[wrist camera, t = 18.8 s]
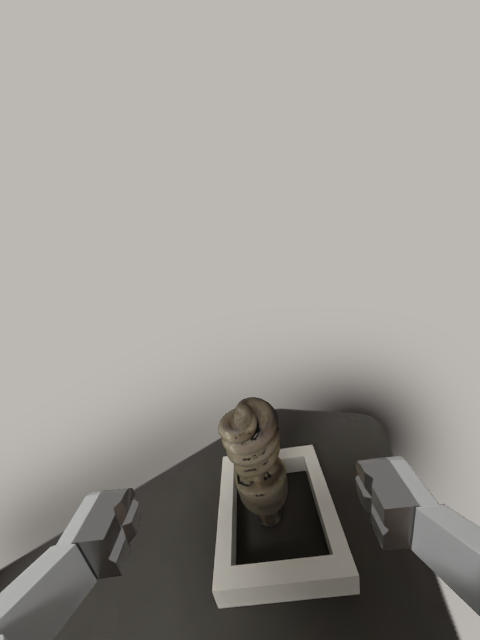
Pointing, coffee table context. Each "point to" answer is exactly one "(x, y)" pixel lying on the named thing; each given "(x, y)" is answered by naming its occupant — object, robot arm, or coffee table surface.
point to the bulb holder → (285, 575)
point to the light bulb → (256, 458)
